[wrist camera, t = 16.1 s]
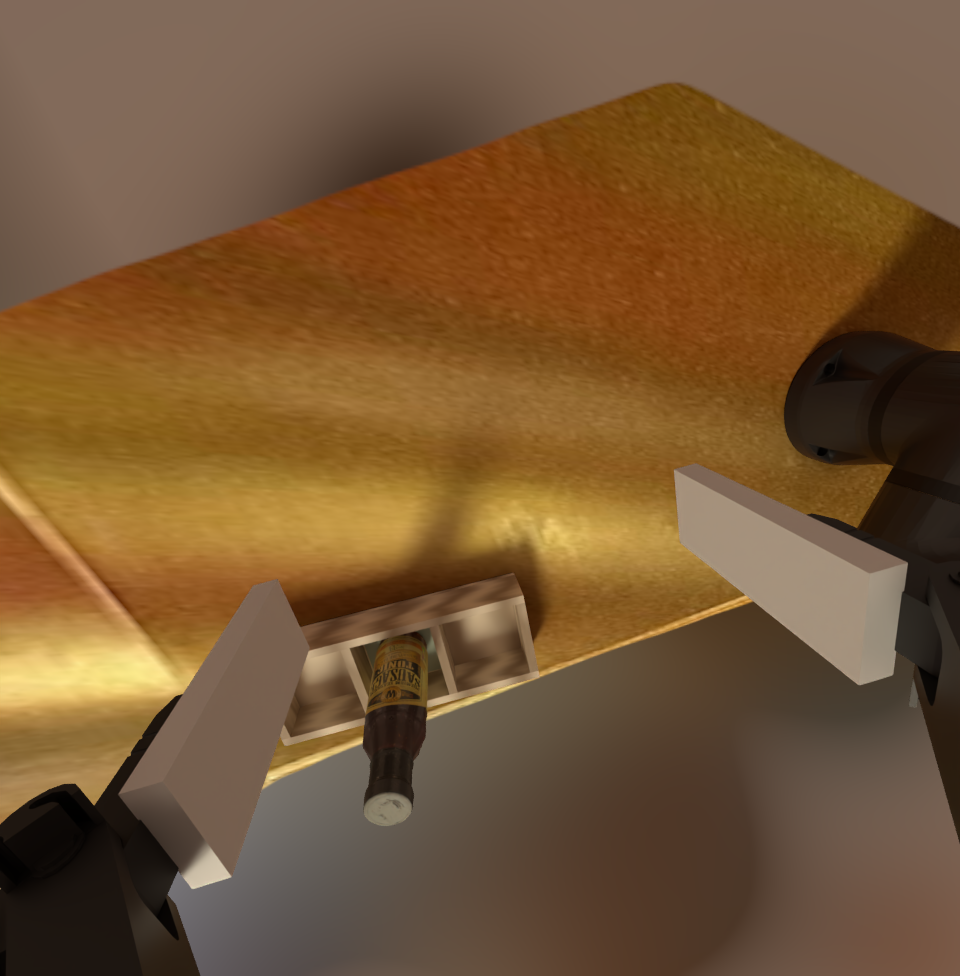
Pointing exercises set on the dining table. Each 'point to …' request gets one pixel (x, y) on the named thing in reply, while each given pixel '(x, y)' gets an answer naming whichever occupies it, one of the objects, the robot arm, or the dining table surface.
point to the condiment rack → (450, 645)
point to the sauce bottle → (395, 726)
